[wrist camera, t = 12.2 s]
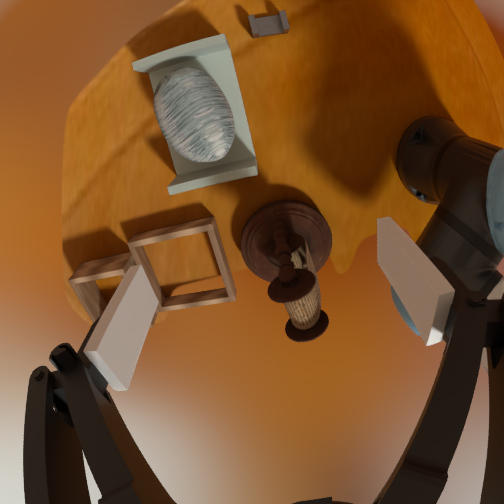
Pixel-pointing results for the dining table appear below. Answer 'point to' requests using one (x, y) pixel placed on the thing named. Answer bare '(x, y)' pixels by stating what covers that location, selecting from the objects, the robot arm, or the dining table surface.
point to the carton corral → (95, 270)
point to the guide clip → (269, 25)
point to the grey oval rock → (194, 114)
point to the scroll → (290, 261)
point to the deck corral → (175, 232)
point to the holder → (223, 72)
